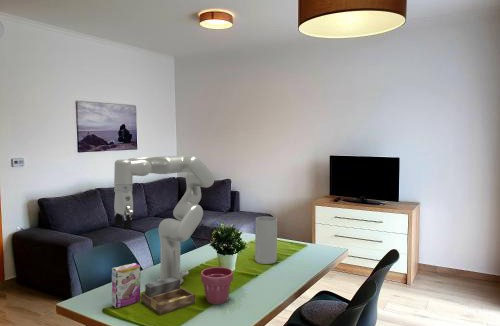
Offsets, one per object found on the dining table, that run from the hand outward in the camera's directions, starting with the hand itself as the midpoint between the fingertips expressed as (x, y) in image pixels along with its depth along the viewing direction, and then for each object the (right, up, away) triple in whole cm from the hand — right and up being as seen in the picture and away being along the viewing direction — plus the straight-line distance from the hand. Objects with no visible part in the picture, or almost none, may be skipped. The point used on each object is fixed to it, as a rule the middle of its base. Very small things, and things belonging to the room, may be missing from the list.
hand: (122, 227), depth 171 cm
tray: (+20, -33, -1) cm, 38 cm away
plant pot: (+41, -33, +3) cm, 53 cm away
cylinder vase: (+65, -29, +57) cm, 91 cm away
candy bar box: (+2, -33, -2) cm, 33 cm away
